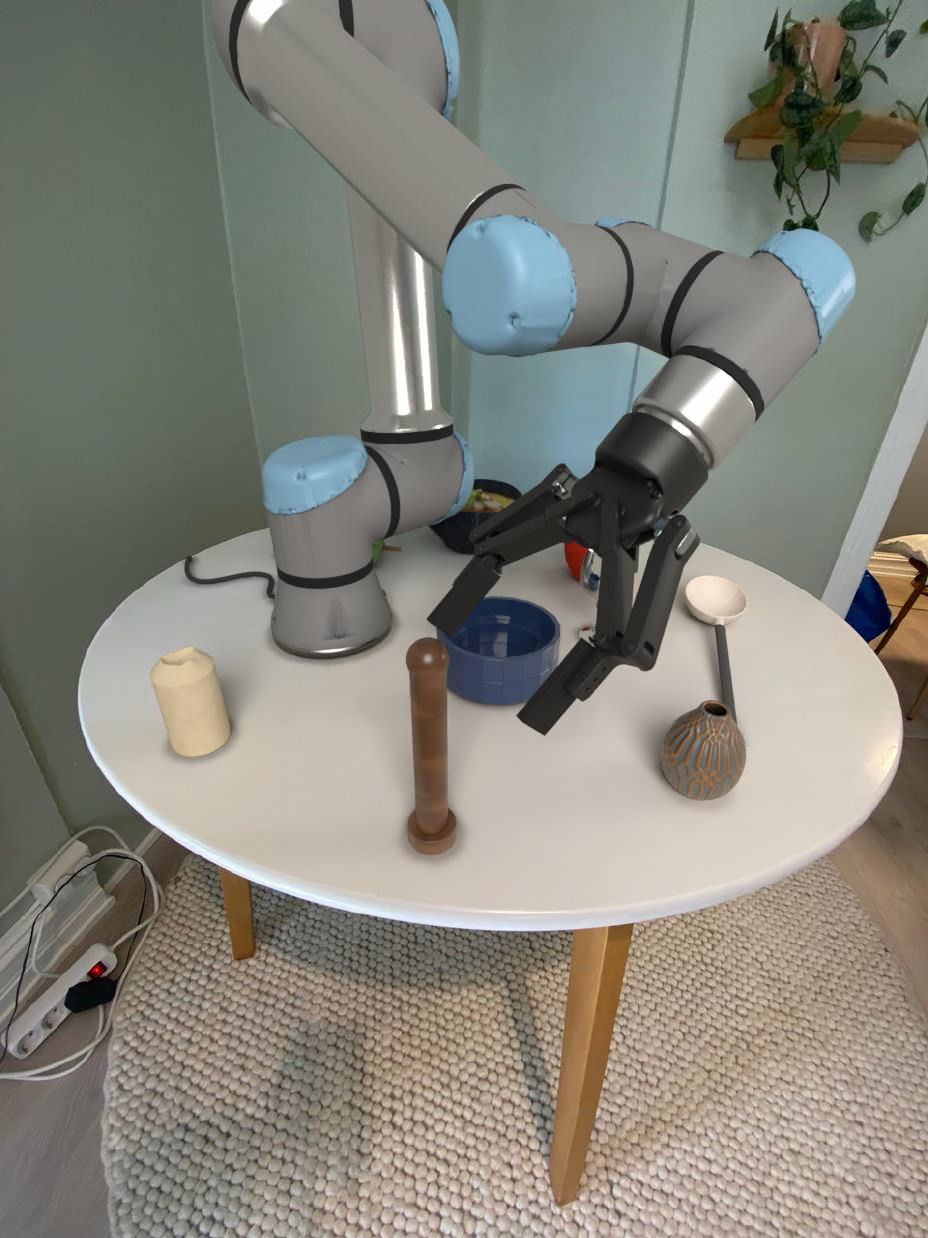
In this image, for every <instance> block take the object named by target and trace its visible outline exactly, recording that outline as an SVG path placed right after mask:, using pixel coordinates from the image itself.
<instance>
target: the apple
mask: <svg viewBox="0 0 928 1238" xmlns="http://www.w3.org/2000/svg"><path fill="white" fill-rule="evenodd" d="M563 547H564V548H563V549H564V550H563V551H564V558H565V562H566V565H567V567H568V569H569V571H570V573H571V575H572V577H573V578H574V579H576V580H577V581H579V582H581V581H580V574H581V568H582V564H583V561H584V558H585V555H586V552H587V550H588V549H586V548H583V547H582V546H580V545H578V544H577V543H576V542H573V543H570V544H566V543H563Z"/></svg>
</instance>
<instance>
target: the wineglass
mask: <svg viewBox="0 0 928 1238" xmlns="http://www.w3.org/2000/svg"><path fill="white" fill-rule="evenodd" d="M601 563H602V558H600V557H599V556H597V555H596V553H595V552H594V551H593V550H591V549H588V550H587V552H586V555H585V558H584V561H583V564H582V568H581V574H580V581H579V582H580V585H581V588H582V590H583V591H584V593H586V595H588V596H589V597H591V598H593V599H596V600H597V601H596V604H595V607H596V609H597V606H598V595H599V584H600V574H601ZM595 627H596V624H595V625H591V626H585V627H583V628H581V629H580V630H579V631H578V637H579V639H581V638H583V639H584V640H585V641H587V642H588V643H589V644H590V645H593V644H592V643H591V642H590V641H589V638H588V636H590V637H591V638H593V637H592V636H594V635H595Z"/></svg>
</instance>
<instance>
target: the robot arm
mask: <svg viewBox="0 0 928 1238" xmlns="http://www.w3.org/2000/svg"><path fill="white" fill-rule="evenodd" d="M210 10H211V11H210V15H211V16H210V17H211V27H212V31H213V37H214V42H215V46H216V48H217V52H218V55H219V58H220V60H221V62H222V64H223V66H224V69H225V71H226V73H227V74H228V76H229V77H230V79H231V82H233V84H234V86H235V88H237V89H238V91H239V92H240V93H241V95H242V96H243V97H244V99H246V101H247V102H248V103H249V104H250V105H251V106H252V107H253V108H254V109H255V110H256V111H257V112H258V114H260V115H261V116H262V117H263V118H264V119H265V120H267V121H269V123H271V124H272V125H274V126H275V127H278V128H281V129H284V130H287V131H288V130H289V131H295V132H296V133H297V134H298V135H299V136H300V137H301V138H302V139H303V140H304V141H305V142H306V143H307V144H308V145H309V146H310V147H311V148H312V149H313V150H314V151H315V152H316V153H317V154H318V155H319V156H320V158H322V159H323V160H324V161H325V163H327V164H328V165H329V167H331V168H332V170H334V171H335V173H337V174H338V175H339V176H340V177H341V178H342V179H343V180H344V183H345V193H346V200H347V201H346V202H347V210H348V211H347V212H348V220H349V229H350V237H351V247H352V256H353V257H352V258H353V264H354V275H355V283H356V284H355V285H356V293H357V300H358V301H357V302H358V311H359V320H360V328H361V337H362V346H363V348H362V349H363V356H364V365H365V374H366V384H367V392H368V402H369V411H368V413H367V414H366V416H365V417H364V418H363V420H362V421H361V422H360V424H359V431H360V432H359V433H360V439H358V438H356V437H354V436H351V435H346V434H345V435H343V434H327V435H325V436H322V437H321V436H318V435H317V436H312V437H311V436H310V437H306V438H302V439H299V440H296V441H292V442H290V443H287V444H285V445H283V446H281V447H280V448H278V449H276V450H274V451H273V452H271V454H269V455H268V457H267V459H265V461H264V463H263V466H262V469H261V476H262V478H261V479H262V490H263V491H262V493H263V494H262V500H263V505H264V507H265V511H266V517H267V521H268V527H269V532H270V533H269V534H270V538H271V545H272V548H273V549H272V550H273V554H274V561H275V567H276V573H277V584H276V589H275V593H273V587H274V577H273V576H272V575H271V573H268V572H264V571H258V570H257V571H255V570H253V571H244V572H239V573H234V574H229V575H225V576H219V577H214V578H199V577H194V575H192V573H191V570H190V567H191V562H192V559H193V556H192V555H187V556H186V558H185V560H184V565H183V567H184V568H183V570H184V574H185V576H186V578H187V579H188V580H189V581H190V582H192V583H195V584H198V585H199V584H200V585H211V584H219V583H224V582H229V581H233V580H238V579H242V578H248V577H262V578H265V579H267V581H268V582H267V587H266V596H267V597H268V598H269V599H271V600H273V605H272V606H273V608H272V611H271V615H270V631H271V637H272V639H273V642H274V643H275V645H276V646H277V647H278V648H279V649H280V650H282V651H284V652H285V653H288V654H289V655H293V656H295V657H299V658H303V659H312V660H334V659H341V658H347V657H351V656H354V655H358V654H360V653H363V652H366V651H368V650H371V649H372V648H374V647H376V646H378V645H379V644H380V643H382V642H383V641H384V640H386V638H387V637H388V635H389V634H390V632H391V629H392V628H393V614H392V610H391V606H390V602H389V601H388V598H389V597H388V595H387V592H386V590H384V589H383V588H382V585H381V582H380V581H379V578H378V576H377V573H376V571H375V563H374V561H373V543H375V542H377V541H380V540H383V539H384V540H386V539H390V538H392V537H397V536H398V535H403V534H404V533H409V532H411V531H414V530H417V529H421V528H424V527H429V526H430V525H435V524H437V523H439V522H441V521H442V520H444V519H446V518H449V517H451V516H453V515H455V514H456V513H458V512H459V511H460V510H461V509H462V508H463V507H464V506H465V504H466V503H467V501H468V499H469V497H470V495H471V492H472V489H473V484H474V479H475V476H476V475H475V462H474V458H473V454H472V450H470V449H468V448H467V446H468V443H467V441H466V440H465V438H464V437H463V436H462V435H461V434H460V433H458V432H457V431H455V430H454V418H453V417H452V416H451V415H450V414H449V413H447V412H446V411H445V409H443V407H442V405H441V401H440V400H441V399H440V382H439V366H438V349H437V330H436V316H435V313H436V312H435V299H434V297H435V296H434V281H433V271H434V272H435V273H436V275H438V276H439V277H440V278H441V300H442V305H443V310H444V312H445V313H446V314H448V316H449V320H450V323H451V330H452V332H453V334H454V336H456V339H458V340H459V341H460V342H461V343H462V345H464V346H465V347H466V348H468V349H469V350H470V351H472V352H475V353H477V354H479V355H483V356H492V357H493V356H494V357H495V356H507V357H511V358H524V357H529V356H530V357H532V356H536V355H539V354H546V353H552V352H560V351H564V350H565V351H566V350H574V349H579V348H590V347H598V346H599V347H600V346H607V345H616V344H624V343H630V344H635V345H637V346H639V347H641V348H645V349H647V350H648V351H652V352H653V353H656V354H658V355H660V356H661V357H665V358H666V359H668V360H667V361H666V363H664V365H663V366H662V367H661V368H660V369H659V371H658V372H657V373H656V374H655V376H654V377H653V378H652V379H651V380H650V381H649V382H648V384H647V385H646V386H645V388H643V390H642V391H641V392H640V393H639V395H637V397H636V398H635V399H634V401H633V402H632V404H631V412H628V413H625V414H623V415H622V416H621V417H620V419H619V420H618V421H617V422H616V423H615V425H614V426H613V428H611V430H610V431H609V432H608V434H607V435H606V436H605V437H604V438H603V440H602V441H601V442H600V443H599V444H598V446H597V447H596V448H595V452H594V464H593V467H592V469H591V470H590V471H589V472H588V473H587V474H585V475H584V476H582V477H581V478H580V477H578V476H577V475H575V474H574V473H573V472H572V470H571V469H570V468H569V467H568V466H567V464H566V463H563V462H561V463H559V464H557V465H555V466H554V468H553V469H552V470H551V471H550V472H549V473H548V474H547V475H546V476H545V478H543V480H542V481H541V482H540V483H538V484H537V485H535V486H534V487H532V488H531V489H529V490H528V491H527V492H525V493H524V494H522V496H521V497H520V498H518V499H517V500H515V501H514V502H512V503H511V504H510V505H508V506H507V507H505V508H504V509H502V510H501V511H500V512H498V513H497V514H495V515H494V516H492V517H491V518H490V519H488V520H487V521H485V522H484V523H482V524H481V525H480V526H478V527H477V528H475V529H474V530H473V531H471V533H470V534H469V540H470V541H471V542H472V543H473V545H474V547H475V550H474V553H475V554H473V557H472V558H471V559H470V561H469V562H468V563H467V564H466V565H465V567H464V568H463V569H462V570H461V571H460V573H459V574H458V575H457V576H456V578H455V579H454V580H453V583H452V585H451V586H452V587H451V588H450V589H449V590H448V592H447V593H446V594H445V595H444V597H443V598H442V599H441V600H440V601H439V603H438V604H437V605H436V606H435V608H433V610H432V611H431V613H430V614H429V615H427V617H426V621H427V622H428V623H429V624H430V625H432V626H433V627H435V629H436V628H438V629H439V630H441V631H442V632H444V633H445V634H447V635H448V636H450V637H452V636H453V635H454V634H455V633H456V631H457V630H458V629H459V628H460V626H461V625H462V624H463V623H464V622H465V620H466V619H467V618H468V617H469V616H470V614H471V613H472V612H473V611H474V609H475V608H476V607H477V606H478V605H479V603H480V602H481V601H482V600H483V598H484V597H487V595H488V594H489V593H490V591H491V590H492V589H493V588H494V587H495V585H496V584H497V583H498V582H499V580H500V579H501V578H502V576H501V575H503V568H504V567H506V566H508V565H511V564H513V563H516V562H518V561H521V560H523V559H526V558H528V557H531V556H533V555H535V554H537V553H540V552H542V551H544V550H547V549H549V548H552V547H554V546H556V545H558V544H564V543H566V544H570V543H573V542H576V543H577V544H578V545H580V546H582V547H583V548H586V549H591V550H593V551H594V552H595V553H596V555H597V556H599V557H600V558H602V563H601V574H600V584H599V595H598V599H597V601H598V606H597V608H596V616H595V625H596V627H595V635H594V636H592V637H593V638H591V637H590V636H588V638H589V641H590V642H591V643H592V644H589V643H588V642H587V641H585V640H584V639H583V638H579V640H578V641H577V642H576V643H575V644H574V646H573V647H572V648H571V649H570V651H569V652H568V653H567V654H566V655H565V656H564V658H563V659H562V660H561V661H560V662H559V664H557V667H556V668H555V670H554V671H553V672H552V673H551V674H550V676H549V677H548V678H547V679H546V680H545V682H544V683H543V684H542V685H541V686H540V687H539V689H538V690H537V691H536V692H535V693H534V695H533V696H532V697H531V698H530V699H529V700H527V701H526V703H525V704H524V705H523V707H522V708H521V709H520V710H519V711H518V712H517V714H515V717H516V718H517V719H518V720H519V721H520V722H521V723H522V724H524V725H526V726H527V727H529V728H530V729H532V730H534V731H535V732H537V733H539V734H540V735H542V736H544V737H546V735H547V734H548V733H549V732H550V731H551V730H552V729H553V727H554V726H555V725H556V724H557V722H558V721H559V720H560V719H561V718H562V716H564V714H565V713H566V712H567V711H568V710H569V709H570V707H571V706H572V705H573V704H574V703H575V701H576V700H579V701H580V702H584V701H587V700H588V699H589V698H590V697H591V696H592V695H593V694H594V693H595V692H596V690H597V689H598V688H599V687H600V686H601V685H602V684H603V682H604V681H605V680H606V679H607V677H609V675H610V674H611V673H612V672H613V670H615V668H617V667H618V666H622V665H623V666H624V665H626V666H630V667H634V668H637V669H638V670H639V671H641V672H649V671H652V670H653V668H654V667H655V666H656V663H657V661H658V657H659V654H660V650H661V647H662V643H663V641H664V636H665V634H666V633H665V632H666V629H667V627H668V622H669V619H670V616H671V613H672V609H673V606H674V602H675V599H676V595H677V592H678V589H679V585H680V582H681V579H682V578H681V577H682V575H683V572H684V569H685V566H686V565H687V563H688V561H690V559H691V557H692V556H693V555H694V553H695V552H696V550H697V549H698V547H699V546H700V544H701V538H700V536H699V534H698V533H697V531H696V530H695V528H694V527H693V526H692V524H691V522H690V521H689V519H688V518H687V517H686V515H684V514H681V513H682V511H683V510H684V509H685V507H686V506H688V505H689V503H690V502H691V500H692V499H693V498H694V497H695V496H696V495H697V493H699V491H700V490H701V488H702V487H704V485H705V484H706V483H707V481H708V480H709V471H714V470H716V469H717V468H718V467H719V466H720V465H721V464H722V463H723V462H724V461H725V459H726V458H727V457H728V456H729V454H730V453H732V451H733V450H734V448H735V447H736V446H737V445H738V444H739V442H740V441H741V440H742V439H743V438H744V437H745V435H746V434H747V433H748V432H749V431H750V429H751V428H752V427H753V426H754V425H755V423H756V422H757V421H758V420H759V419H760V417H761V416H762V415H763V413H764V412H765V411H766V410H767V409H768V408H769V406H771V404H773V402H774V401H775V400H776V399H777V397H778V396H779V395H780V394H781V393H782V392H783V390H784V389H785V388H786V387H787V386H788V385H789V384H790V383H791V381H792V380H793V379H794V378H795V377H796V375H797V374H798V373H799V372H800V371H801V370H802V369H803V368H804V366H806V364H807V363H808V362H809V360H810V359H811V358H813V357H815V356H816V355H817V353H818V352H819V351H820V350H821V348H822V344H823V343H824V341H825V340H826V339H827V337H828V336H829V335H830V333H831V331H833V329H834V328H835V327H836V325H837V324H838V323H839V321H840V320H841V319H842V318H843V316H844V315H845V314H846V312H847V311H848V309H849V308H850V306H851V304H852V302H853V300H854V298H855V295H856V284H857V280H856V279H857V277H856V273H855V269H854V266H853V263H852V261H851V259H850V257H849V256H848V254H847V253H846V251H845V250H844V249H843V248H842V247H841V245H839V244H838V243H837V242H836V241H834V240H833V239H832V238H831V237H829V236H827V235H825V234H823V233H822V232H819V231H817V230H813V229H809V228H803V227H801V228H796V229H794V230H790V231H788V230H782V231H779V232H777V233H775V234H773V235H772V236H770V237H769V238H768V239H767V240H766V241H765V242H764V243H763V244H762V245H760V246H758V248H756V249H755V250H754V251H753V253H752V254H751V255H750V256H749V257H744V256H743V255H742V256H741V255H738V254H735V253H733V252H725V251H723V250H719V249H718V250H716V249H714V248H711V247H708V246H706V245H702V244H700V243H697V242H694V241H692V240H689V239H686V238H683V237H681V236H678V235H675V234H672V233H670V232H666V231H664V230H661V229H659V228H656V227H653V225H652V224H650V223H647V222H645V221H643V220H641V221H640V220H637V221H635V220H632V219H627V218H621V217H617V216H604V217H601V218H599V219H597V220H596V222H595V223H594V224H589V223H588V224H586V223H577V222H568V221H565V220H564V219H561V218H560V217H558V216H557V215H556V214H555V213H553V212H552V211H551V210H550V209H548V208H547V206H545V205H544V204H543V203H541V202H540V201H539V200H538V199H537V198H536V197H535V196H533V195H532V194H531V193H530V192H528V190H526V189H525V188H524V187H523V186H522V185H521V183H519V182H518V181H517V180H516V179H515V178H514V177H513V176H512V175H510V174H509V173H508V172H507V171H506V170H504V168H502V167H501V166H500V165H499V164H498V163H497V162H495V161H494V160H493V159H492V158H491V157H490V156H488V154H486V153H485V152H484V151H483V150H482V149H480V148H479V147H478V146H477V145H476V144H475V143H474V142H472V141H471V139H469V138H468V137H467V136H466V135H465V134H464V133H462V131H460V130H459V129H458V128H457V127H455V126H454V125H453V124H452V123H451V122H450V121H449V119H450V117H451V116H452V113H453V111H454V105H453V99H456V98H457V97H458V94H459V89H460V78H461V57H460V56H461V54H460V46H459V41H458V40H459V39H458V35H457V32H456V28H455V24H454V22H453V18H452V16H451V14H450V11H449V9H448V7H447V6H446V3H445V2H444V0H210ZM670 517H671V518H670ZM564 518H565V519H564ZM489 535H490V536H492V538H490V539H489V538H488V537H487V536H489ZM651 541H653V544H652V547H651V549H650V552H649V554H648V557H647V560H646V564H645V567H644V569H643V573H642V576H641V580H640V583H639V586H638V589H637V592H636V596H635V599H634V585H635V574H637V573H638V571H639V560H640V546H642V545H645V544H647V543H649V542H651ZM633 599H634V600H633ZM633 601H634V602H633Z"/></svg>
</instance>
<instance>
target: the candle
mask: <svg viewBox="0 0 928 1238" xmlns="http://www.w3.org/2000/svg"><path fill="white" fill-rule="evenodd" d="M215 663H216V662H215V660H214V658H213V657H212V656H211V655H210V654H209V653H206V652H205V651H202V650H200V649H198V648H196V647H195V646H186V647H183V648H182V649H180V650H176V651H173V652H169V653H167V654H164V655H163V656H162V657H160V658H159V660H157V661H156V663H155V664H154V665H153V666H152V668H151V669H150V671H149V678H150V682H151V685H152V688H153V691H154V692H153V693H154V694H155V698H156V700H157V704H158V708H159V711H160V714H161V718H162V719H163V720H162V721H163V723H164V726H165V729H166V733H167V735H168V739H169V742H170V745H171V747H172V749H173V750H174V752H175V753H176V754H178V755H180V756H183V757H188V758H189V757H190V758H193V757H194V758H196V757H202V756H205V755H209V754H211V753H213V752H215V751H217V750H219V749H220V748H222V747H223V746H224V745H225V744H226V743H227V742H228V740H229V739H230V736H231V724H230V721H229V716H228V712H227V707H226V703H225V700H224V696H223V691H222V688H221V684H220V679H219V675H218V671H217V667H216V664H215Z"/></svg>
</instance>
